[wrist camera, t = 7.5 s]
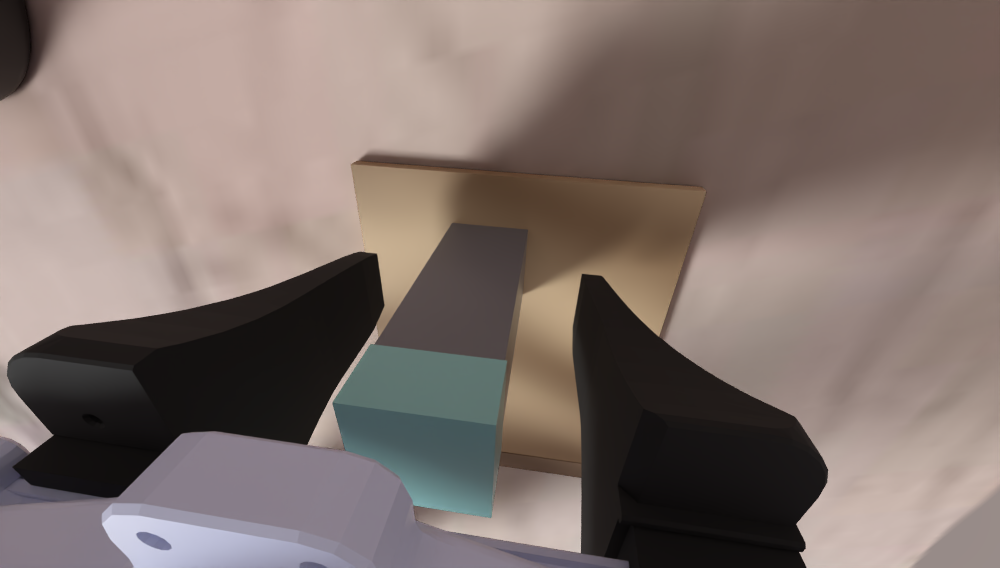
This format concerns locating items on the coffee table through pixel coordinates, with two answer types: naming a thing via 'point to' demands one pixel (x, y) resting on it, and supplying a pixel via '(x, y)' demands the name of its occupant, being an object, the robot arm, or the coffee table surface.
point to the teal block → (443, 373)
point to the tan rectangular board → (535, 270)
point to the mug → (13, 45)
